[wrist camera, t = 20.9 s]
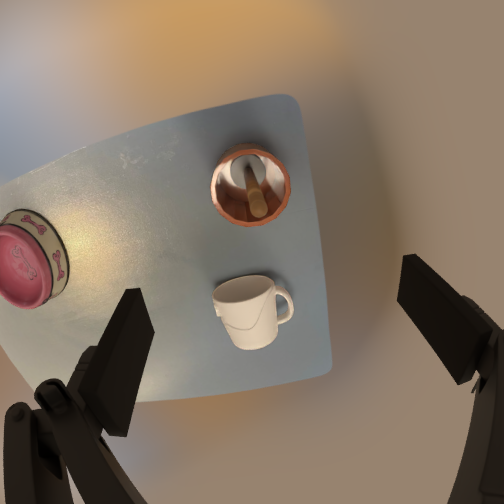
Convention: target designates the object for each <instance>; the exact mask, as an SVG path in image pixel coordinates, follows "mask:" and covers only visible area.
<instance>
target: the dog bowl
mask: <svg viewBox="0 0 504 504" xmlns="http://www.w3.org/2000/svg"><path fill="white" fill-rule="evenodd" d="M68 277H69V263H68V258H67V253H66V250H65V248H64V245H63V243H62V241H61V239H60V238H59V236H58V234H57V233H56V231H55V230H54V228H53V227H52V226H51V225H50V224H49V223H48V222H47V221H46V220H45V219H44V218H43V217H41V216H40V215H38V214H36V213H34V212H32V211H29V210H15V211H13V212H11V213H9V214H8V215H6V216H5V217H4V219H3V220H2V221H1V223H0V294H1V295H2V296H3V297H4V298H5V299H6V300H7V301H8V302H10V303H11V304H13V305H15V306H17V307H19V308H23V309H33V308H36V307H38V306H41V305H43V304H45V303H46V302H47V301H48V300H49V299H51V298H54V297H56V296H57V295H59V294H60V293H61V292H62V291H63V289H64V288H65V286H66V284H67V281H68Z"/></svg>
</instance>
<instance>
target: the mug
mask: <svg viewBox="0 0 504 504" xmlns="http://www.w3.org/2000/svg"><path fill="white" fill-rule="evenodd" d="M276 294H280V295H282V296H283V297H285V299H286V300H287V302H288V310H287V311H286V312H285V313H284V314H281V315H279V316H277V310H276V296H275V295H276ZM212 298H213V302H214V308H215V310H216V313H217V316H221V320H222V322H223V324H224V326H225V328H226V330H227V332H228V334H229V336H230V337H231V339H232V341H233V343H234V344H235V345H236V346H237V347H239V348H241V349H245V350H254V349H259V348H262V347H264V346H266V345H268V344H270V343H271V342H272V341H273V340H274V339H275V338H276V336H277V333H278V325H279V324H281V323H284V322H286V321H288V320H289V319H290V318H291V317H292V315H293V312H294V306H293V302H292V299H291V296H290V294H289V293H288V292H287V290H285V289H284V288H283V287H280V286H275V283H274V281H273V280H271V279H270V278H268V277H266V276H261V275H249V276H243V277H239V278H235V279H232V280H229V281H227V282H225V283H223V284H221V285H220V286H218V287H217V288H216V289H215V290H214V291H213V293H212Z"/></svg>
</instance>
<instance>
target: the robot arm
mask: <svg viewBox="0 0 504 504" xmlns="http://www.w3.org/2000/svg"><path fill="white" fill-rule="evenodd" d="M397 302H398V303H399V304H400V305H401V307H402V308H403V309H404V311H405V312H406V313H407V314H408V316H409V317H410V318H411V320H412V321H413V323H414V324H415V325H416V326H417V328H418V329H419V330H420V332H421V333H422V335H423V336H424V337H425V339H426V340H427V342H428V343H429V344H430V346H431V347H432V348H433V350H434V351H435V353H436V354H437V356H438V357H439V358H440V360H441V361H442V363H443V364H444V366H445V367H446V368H447V370H448V371H449V373H450V374H451V376H452V377H453V378H454V380H455V382H456V383H457V385H460V384H463V383H465V382H468V381H470V380H471V379H472V377H473V375H474V373H475V371H476V370H477V371H478V373H479V374H480V376H479V378H478V380H477V382H476V384H475V386H474V387H473V389H472V392H471V393H474V391H475V389H476V394H475V401H474V406H473V412H472V417H471V423H470V427H469V432H468V436H467V440H466V445H465V448H464V453H463V456H462V460H461V463H460V467H459V470H458V473H457V477H456V480H455V483H454V486H453V489H452V492H451V495H450V498H449V500H448V503H447V504H504V330H502V329H501V328H500V327H499V326H498V325H497V324H496V323H495V322H494V321H493V320H492V319H491V318H490V317H489V316H488V315H487V314H486V313H484V311H483V310H482V309H481V308H479V306H478V305H477V304H476V303H475V302H474V301H473V300H472V299H470V298H468V297H466V296H461V295H459V294H458V293H457V292H456V291H455V290H454V289H453V288H452V287H451V286H450V285H449V284H448V283H447V282H446V281H445V280H444V279H443V278H441V276H439V275H438V274H437V273H436V272H435V271H434V270H433V269H432V268H431V267H429V265H427V264H426V263H425V262H424V261H423V260H422V259H421V258H420V257H418V256H417V255H416V254H410V255H404V256H403V262H402V270H401V277H400V284H399V290H398V297H397ZM154 333H155V332H154V329H153V326H152V323H151V320H150V317H149V314H148V311H147V308H146V305H145V302H144V299H143V296H142V292H141V289H140V288H133V289H126V290H125V292H124V294H123V296H122V298H121V300H120V301H119V303H118V305H117V307H116V309H115V311H114V313H113V315H112V317H111V319H110V321H109V323H108V325H107V327H106V329H105V331H104V333H103V335H102V337H101V339H100V341H99V343H98V345H97V346H89V347H88V348H87V349H86V350H85V351H84V352H83V353H82V355H81V357H80V359H79V361H78V364H77V365H76V368H75V371H74V372H73V374H72V376H71V378H70V380H69V382H68V384H67V386H66V387H65V385H64V384H63V382H62V381H61V380H59V379H48V380H45V381H44V382H42V383H41V384H40V385H39V386H38V387H37V388H36V391H35V393H34V399H35V400H36V401H37V403H38V404H39V405H40V407H41V408H42V409H36V410H31V409H30V407H29V406H28V405H27V404H26V403H24V402H18V403H15V404H13V405H12V406H11V407H10V408H9V409H8V410H7V412H6V415H5V423H4V447H3V448H4V449H3V458H4V459H3V462H4V463H3V466H4V489H5V502H6V504H74V503H73V498H72V494H71V489H70V484H69V479H68V474H67V468H68V471H69V473H70V475H71V477H72V479H73V481H74V483H75V485H76V487H77V489H78V491H79V493H80V495H81V497H82V499H83V501H84V502H85V504H147V502H146V501H145V500H144V498H143V497H142V496H141V494H140V493H139V492H138V490H137V489H136V488H135V486H134V485H133V483H132V482H131V481H130V479H129V478H128V476H127V475H126V473H125V472H124V470H123V469H122V467H121V466H120V464H119V463H118V461H117V460H116V458H115V456H114V455H113V453H112V452H111V450H110V448H109V447H108V445H107V443H106V442H105V440H104V439H103V437H102V436H101V433H102V430H103V428H104V429H105V430H106V432H107V433H108V434H109V436H119V437H127V433H128V429H129V424H130V421H131V417H132V412H133V409H134V405H135V401H136V397H137V393H138V389H139V386H140V382H141V378H142V375H143V371H144V367H145V364H146V360H147V357H148V353H149V350H150V346H151V343H152V340H153V336H154ZM66 466H67V468H66Z"/></svg>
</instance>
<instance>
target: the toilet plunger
mask: <svg viewBox="0 0 504 504" xmlns="http://www.w3.org/2000/svg"><path fill="white" fill-rule="evenodd" d="M230 174H231V178H232V180H233V182H234V183H235V184H236V185H237V186H238V187H240V188H243V189H246V190H247V196H248V201H249V206H250V211H251V213H252V215H253V216H255V217H258V218H260V217H263V216H265V215H266V213H267V211H268V207H267V204H266V202H265V199H264V197H263V194H262V192H261V189H260V186H259V185H260V184H261V183H262V182H263V180H264V178H265V175H266V168H265V165H264V163H263V162H262V160H261V159H260V158H259V157H258V156H257V155H255V154H250V155H241V156H239V157H237V158H235V159H234V160H233V161H232V163H231V168H230Z"/></svg>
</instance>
